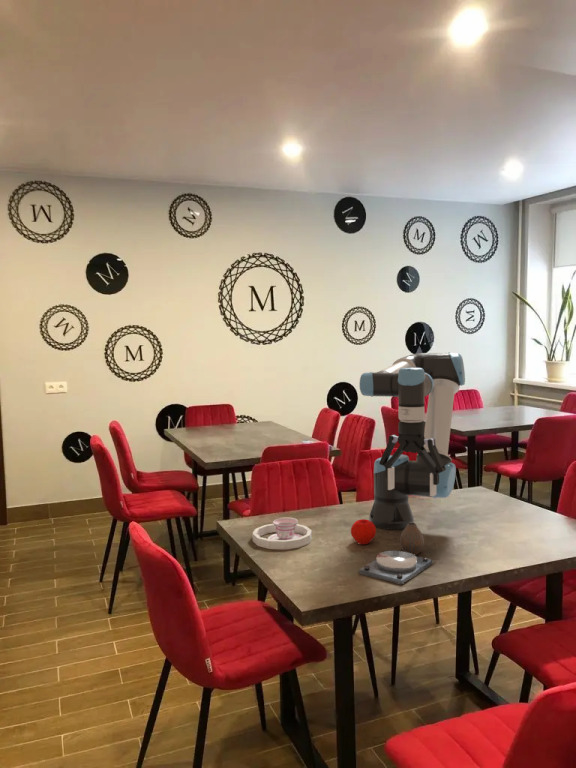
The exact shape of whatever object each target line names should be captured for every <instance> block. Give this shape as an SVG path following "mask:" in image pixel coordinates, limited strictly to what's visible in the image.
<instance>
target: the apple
mask: <svg viewBox="0 0 576 768" xmlns="http://www.w3.org/2000/svg"><path fill="white" fill-rule="evenodd" d="M350 534H351V537H352V538H353V540H354V541H355V542H356V543H357V544H358V545H362V546H363V545H367V544H370V543H371V541H372V540H373V539H375V537H376V534H377V527H375V525H374V524H373V523H372V522H371V521H369V519H364V518H363V519H358V520H356V521H355V522H354V523H353V524H352V526H351V529H350Z"/></svg>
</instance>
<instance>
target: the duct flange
mask: <svg viewBox="0 0 576 768" xmlns="http://www.w3.org/2000/svg"><path fill="white" fill-rule="evenodd" d="M432 563H434V561H433V559H430V558H428V557H426V556H425V557H421V556H417V555H413V554H411V553H408V552H404V551H403V550H395V549H394V550H386V551H381V552H379V553H378V554H377V555H376V559H375V560H373V561H372V562H369V563H368V564H366V565H364V566H362V567H361V568H359V570H358V573H359V575H362V576H367V577H371V578H374V579H378V580H381V579H383V581H385V580H386V582H389V581H391V582H390V583H393V582H395V583H394V584H397V583H399V584H398V585H401V584H403V583H404V582H406V581H407V580H409V579H410V578H412V577H413V578H415V577H416V576H418V575H419V574H421V573H422V572H424V571H425V570H426V569H428V568H429V567H431V566H432V565H433V564H432ZM431 564H432V565H431ZM430 565H431V566H430ZM428 566H429V567H428ZM427 567H428V568H427ZM425 568H426V569H425ZM424 569H425V570H424ZM421 571H422V572H421ZM418 573H419V574H418ZM415 575H416V576H415ZM414 576H415V577H414ZM413 578H412V579H413ZM410 580H411V579H410ZM410 580H409V581H410ZM407 582H408V581H407ZM407 582H406V583H407ZM404 584H405V583H404ZM404 584H403V585H404Z"/></svg>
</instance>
